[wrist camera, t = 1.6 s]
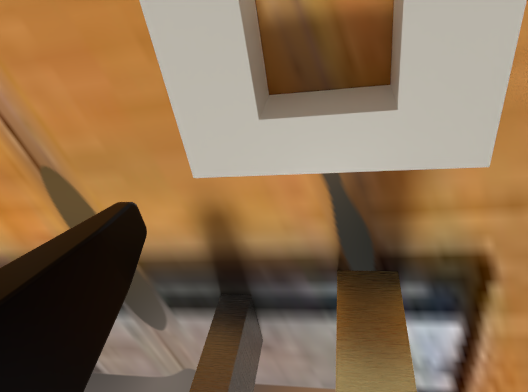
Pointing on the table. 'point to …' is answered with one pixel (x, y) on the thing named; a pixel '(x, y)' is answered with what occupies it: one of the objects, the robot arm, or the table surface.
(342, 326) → the square bit
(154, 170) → the table surface
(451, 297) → the table surface
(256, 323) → the bar
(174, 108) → the grey slab with hole
